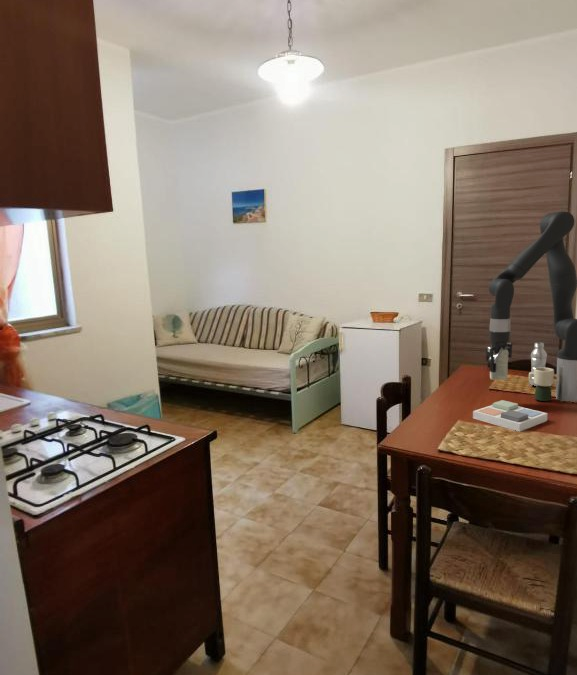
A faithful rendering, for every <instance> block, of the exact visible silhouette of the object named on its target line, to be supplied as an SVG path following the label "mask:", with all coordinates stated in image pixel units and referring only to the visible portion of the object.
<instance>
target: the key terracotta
mask: <svg viewBox="0 0 577 675" xmlns="http://www.w3.org/2000/svg"><path fill="white" fill-rule="evenodd" d="M479 412H482V413H485V414H489V415H493V416H496V415H499V414H501V413H504V412H503V411H499V410H495V409H491V408H486V409H483V410H480V411H479Z"/></svg>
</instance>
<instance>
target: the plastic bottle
mask: <svg viewBox="0 0 577 675" xmlns="http://www.w3.org/2000/svg"><path fill="white" fill-rule="evenodd" d="M533 345H534V348H533V350H532V351H531V353H530V359H531V360H530V362H531V363H530V364H531V366H530V367H531V369H530V370H531V371H530V372H532V373H534V369H535V368H539V367H545V368H546V364H547V357H548V353H547V351H546V350H545V349H544V348H545V343H544V342H541V341H539V342H534V344H533ZM531 378H534V375H531ZM528 380H529V379H528ZM530 384H531V385H534V386H538V385H536V384H534V381H533V380H529V385H530ZM531 385H530V386H531Z"/></svg>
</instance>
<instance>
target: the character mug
mask: <svg viewBox="0 0 577 675" xmlns="http://www.w3.org/2000/svg"><path fill="white" fill-rule="evenodd" d="M531 375H534V378H531ZM554 378H555V379H554ZM528 380H533V381H534V384H536V385H538V386H537V387H535V389H534V390H535V391H534V397H533V398H534V399H535V400H537V401H541V402H548V401H549V402H550V401H551V400H553V398H552V397H553V396H552V389H551V386H553V385H554V383H555V384H556V383H558V382H559V375H557V373H555V369H554V368H550V367H546V366H545V367H539V368H535V369H534V373H532V372H531V371H530V372H529V373H528Z"/></svg>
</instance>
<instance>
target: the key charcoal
mask: <svg viewBox="0 0 577 675" xmlns="http://www.w3.org/2000/svg"><path fill="white" fill-rule="evenodd" d="M501 418H504V419H508V420H511V421H515V422H521V421H524V420H526V419H528V414H525V413H521V412H517V411H513V410H510V411H507V412H504V413H501Z"/></svg>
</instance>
